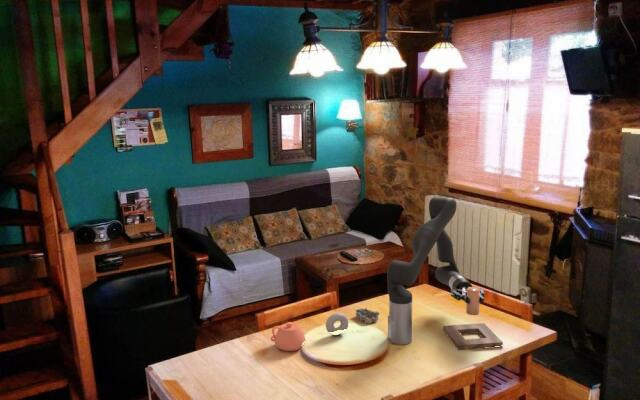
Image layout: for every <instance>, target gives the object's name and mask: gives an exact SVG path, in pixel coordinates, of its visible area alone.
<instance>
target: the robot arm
mask: <svg viewBox="0 0 640 400" xmlns="http://www.w3.org/2000/svg"><path fill="white" fill-rule="evenodd" d="M428 212H429V218H430V220H428V221H426V222H424V223H423V224H422V225H420V226H419V227H418V228H417V230H416V231H415V232H414V235H413V236H412V238H411V247H412V249H411V250H412V252H413V253H412V254H413V257H412V258H411V260H410V262H407V261H402V260H397V259H396V260H395V259H394V260H392V261H390V263H389V265H388V267H387V272H386V275H387V277H386V278H387V279H386V280H387V294H388V295H387V296H388V297H389V298H388V299H389V302H388V306H389V307H388V309H389V310H388V311H389V313H388V316H387V338H388V340H389V342H390V344H392V343H393V344H394V343H396V344H395V345H400V344H403V345H408V344H410V343H412V340H413V293H412V292H411V291H410V290H408V289H407V288H406V287H411V286H413V284H415V282H416V281H417V278H418V276H419V274H420V272H421V269H422V267H423V265H424V263H425V261H426V259H427V258H428V255H430V253H431V252H432V249H433V248H434V247H435V244H436V249H437V259H438V262H440V263H446V264H447V263H448V265H443V266H439V267H437V268H436V269H435V273H434V274H435V278H436V280H437V281H439V283H441V284H443V285H446V286H448V287H449V288H450V297H452V298H453V299H455V300H456V301H461V300H462V301H463V302H465V304H466V303H467V304H470V299H469V298H468V297H467V288H469V287H473V285H472V283H470V281H468V279H466V278H465V277H464V276H463V275H461V274H460V270H459V268H458V266H457V262H456V260H455V259H456V258H455V255H454V245H453V241H452V239H451V237H450V235H449V234H448V233H447V231H446V229H445V228H446V226H447V225H448V224H449V223H450V221H451V220H453V217H454V216H455V213H456V212H457V202H456V200H455V199H454V198H452V197H442V196H441V197H437V196H436V197H432V198H431V199H430V200H429V203H428ZM404 286H406V287H404ZM479 289H480V301H479V303H481V304H484V302H485V291H484V288H482V287H480V288H479Z"/></svg>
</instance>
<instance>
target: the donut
mask: <svg viewBox="0 0 640 400" xmlns="http://www.w3.org/2000/svg"><path fill="white" fill-rule="evenodd" d="M336 322H340V324H339V325H338V327H335V323H336ZM348 328H349V318H348V317H347V315H345V314H344V313H342V312H335V313H332V314H330V315H329V316H328V317H327V319H326V322H325V329H326V331H327V333H328V332H334V331H337V330H344V329H347V330H348Z"/></svg>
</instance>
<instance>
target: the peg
mask: <svg viewBox="0 0 640 400" xmlns="http://www.w3.org/2000/svg"><path fill="white" fill-rule="evenodd" d="M467 297H468V298H469V299H470V304H467V303H466V302H465V304H466V308H465V309H466V310H465V313H466V315H469V316H478V315H479V314H480V288H479V287H474V286H472V287H469V288H467Z"/></svg>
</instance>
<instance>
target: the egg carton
mask: <svg viewBox="0 0 640 400" xmlns="http://www.w3.org/2000/svg"><path fill="white" fill-rule="evenodd" d="M354 311H355V318H356V319H359V320H360V321H361V320H365V321H364V324H369V323H371V324H372V323H373V322H372V321H377V320H378V321H379V315H380V313H379V312H378V311H373V310H370V309H368V308H366V307H365V308H358V309H354ZM368 315H369V316H373V317H369V316H368Z"/></svg>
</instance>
